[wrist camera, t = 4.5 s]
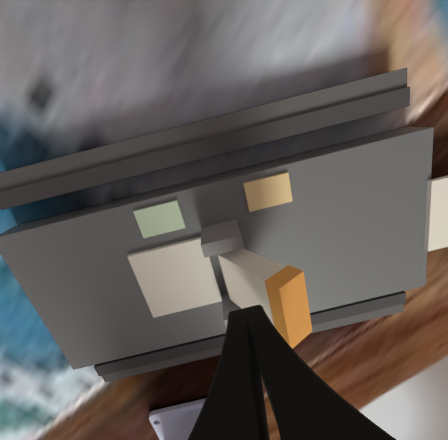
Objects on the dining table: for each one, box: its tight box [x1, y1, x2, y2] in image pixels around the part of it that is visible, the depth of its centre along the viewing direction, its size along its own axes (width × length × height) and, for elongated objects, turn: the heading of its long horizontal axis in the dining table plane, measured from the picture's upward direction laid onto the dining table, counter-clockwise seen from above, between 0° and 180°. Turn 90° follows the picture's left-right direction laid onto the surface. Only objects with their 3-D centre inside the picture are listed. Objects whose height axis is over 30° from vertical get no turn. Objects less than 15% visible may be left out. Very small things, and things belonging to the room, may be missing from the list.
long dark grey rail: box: [0, 68, 410, 210], centre depth 14 cm, size 2×22×2 cm, turn 103°
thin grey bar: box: [94, 291, 406, 382], centre depth 19 cm, size 2×22×2 cm, turn 104°
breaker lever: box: [217, 248, 312, 349], centre depth 13 cm, size 3×1×5 cm
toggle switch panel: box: [0, 127, 448, 370], centre depth 15 cm, size 10×28×4 cm, turn 103°
